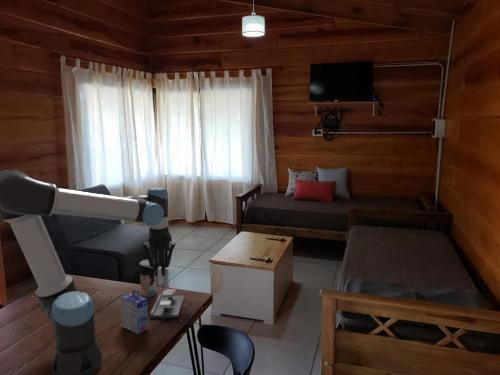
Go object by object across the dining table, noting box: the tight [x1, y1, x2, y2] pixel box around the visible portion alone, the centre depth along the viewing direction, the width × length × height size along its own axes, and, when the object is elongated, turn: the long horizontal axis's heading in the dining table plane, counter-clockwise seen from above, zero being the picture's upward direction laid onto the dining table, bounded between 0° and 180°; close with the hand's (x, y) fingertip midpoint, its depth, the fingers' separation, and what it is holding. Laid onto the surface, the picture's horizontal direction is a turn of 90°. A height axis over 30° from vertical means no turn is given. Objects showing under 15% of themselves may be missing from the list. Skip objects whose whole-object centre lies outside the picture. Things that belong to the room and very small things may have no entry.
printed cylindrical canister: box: [139, 259, 157, 298], centre depth 173 cm, size 7×7×15 cm
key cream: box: [160, 300, 171, 308], centre depth 156 cm, size 4×4×1 cm
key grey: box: [161, 290, 173, 298], centre depth 160 cm, size 4×4×1 cm
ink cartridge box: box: [120, 289, 149, 335], centre depth 145 cm, size 10×6×14 cm, turn 55°
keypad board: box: [149, 293, 185, 319], centre depth 161 cm, size 17×11×2 cm, turn 1°
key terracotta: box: [166, 288, 177, 296], centre depth 165 cm, size 4×4×1 cm
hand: (160, 283), depth 154 cm, fingers closed
